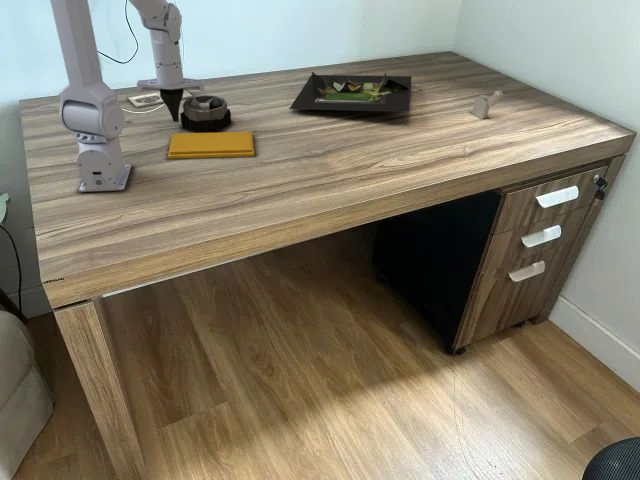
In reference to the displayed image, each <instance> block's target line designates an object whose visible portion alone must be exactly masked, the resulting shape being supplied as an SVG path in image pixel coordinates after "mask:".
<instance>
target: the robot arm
mask: <svg viewBox="0 0 640 480" xmlns="http://www.w3.org/2000/svg"><path fill="white" fill-rule="evenodd" d="M49 1H50V5H51V10H52V15H53V19H54V23H55V27H56V32H57V36H58V40H59V45H60V50H61V54H62V59H63V62H64V66H65V67H64V68H65V71H66V75H67V79H68V84H67V85H66V86H65V87H63V88H62V89H61V90H60V92H59V93H58V99H59V109H58V110H59V111H58V114H59V115H58V116H59V120H60V123H61V124H62V126H63V127H64V129H66V130H68V131H70V133H71V137H73V138H75V139H76V143H77V147H78V155H77V159H76V165H77V168H78V171H79V174H80V178H81V184H80V187H79V189H78V190H79V192H81V193H87V192H88V193H89V192H111V191H124V190H125V189H126V185H127V182H128V178H129V176H130V172H131V169H132V165H131V164H125V161H124V160H125V159H124V156H123V151H122V146H121V142H120V137H119V136H120V135H122V132H123V130H124V128H125V121H126V119H125V113H124V110H123V108H122V107H121V104H120V103H119V99H118V94H117V93H116V92H115V91H114V90H113V89H112V88H111V87H109V85H107V83H105V82H104V79H103V74H102V69H101V63H100V57H99V52H98V47H97V43H96V36H95V32H94V26H93V21H92V15H91V10H90V5H89V0H49ZM128 2H129V3H130V5H132V6H133V7H134V8H135V10H136V11H137V13H138V15H139V16H140V21H141V24H142V26H143V28H145V29H146V30H149V37H150V43H151V49H152V50H151V51H152V57H153V62H154V68H155V75H156V78H147V79H138V80H137V81H136V88H137V92H141V93H142V92H144V91H159V92H160V97H161V99H162V100H163V101H164V103H163V104H165V106H166V108H167V109H168V111H169V113H170V116H171V118H172V122H174V123H175V122H176V123H178V122H179V119H180V116H179V115H180V106H181V102H182V100H183V99H182V97H183V92H184V90H186V91H199V92H204V91H205V89H206V88H205V87H206V86H205V79H197V78H188V77H184V71H183V63H182V55H181V46H180V40H181V37H182V35H181V34H182V33H181V27H182V23H183V19H182V18H183V17H182V14H181V12H180V11H181V10H179V7H177V6H176V5H175V4H174V3H172V2H168V1H167V0H128Z"/></svg>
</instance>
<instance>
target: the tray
mask: <svg viewBox="0 0 640 480" xmlns="http://www.w3.org/2000/svg"><path fill="white" fill-rule="evenodd" d="M169 144H170V145H169V149H168V155H167V158H168V159H169V160H177V159H178V160H179V159H202V158H203V159H205V158H208V159H209V158H210V159H211V158H237V157H241V158H242V157H255V150H254V148H255V147H254V139H253V133H251V131H225V132H223V131H221V132H219V131H218V132H216V133H201V132H183V133H181V132H180V133H173V135H171V139H170V143H169Z"/></svg>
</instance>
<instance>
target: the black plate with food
mask: <svg viewBox="0 0 640 480" xmlns="http://www.w3.org/2000/svg"><path fill="white" fill-rule="evenodd" d="M412 77H413V76H412V75H387V72H384V75H354V74H353V75H351V74H349V75H346V74H345V75H344V74H343V75H341V74H316V73H315V72H314V71H311V75H310V76H309V78H308V80H306V83H305V84H304V85H303V87H302V88H301V90H300V92H299V94H298V95H297V96H296V98H295V99H294V101H293V102H292V104H291V105H290V107H289V110H314V111H315V110H318V111H319V110H320V111H322V110H323V111H356V112H358V111H359V112H360V111H361V112H392V113H393V112H394V113H395V112H397V113H398V112H399V113H409V111H410V102H411V91H412V90H411V89H412V79H413V78H412Z"/></svg>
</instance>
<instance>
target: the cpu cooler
mask: <svg viewBox="0 0 640 480" xmlns="http://www.w3.org/2000/svg"><path fill="white" fill-rule="evenodd" d="M179 115H180V116H179V118H180V123H181V124H180V125H181V128H183V129H186V130H189V131H193V132H196V133H219V131H221V130H223V129H224V128H226V127H228V126H229V125H231V124H232V111H231V109H230V108H228V102H227V101H226V99H225V98H224V97H220V96H218V95H210V94H204V95H196V96H193V97H190V98H186V99H185V100H184V102H183V104H182V112H179Z"/></svg>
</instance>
